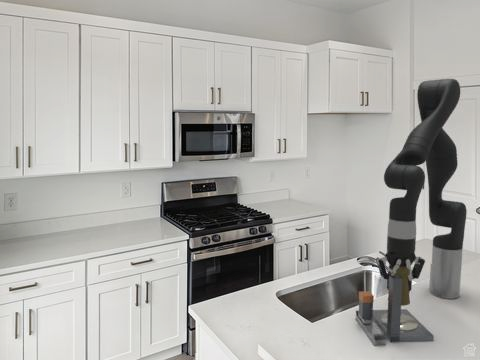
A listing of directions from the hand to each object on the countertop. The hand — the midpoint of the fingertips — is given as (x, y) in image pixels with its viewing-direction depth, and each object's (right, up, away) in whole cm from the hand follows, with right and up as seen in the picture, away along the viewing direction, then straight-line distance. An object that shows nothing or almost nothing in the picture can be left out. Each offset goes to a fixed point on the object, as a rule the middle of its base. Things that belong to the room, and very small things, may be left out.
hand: (398, 291), depth 112 cm
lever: (-9, -9, +2) cm, 13 cm away
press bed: (+1, -11, +1) cm, 11 cm away
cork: (0, -3, 0) cm, 3 cm away
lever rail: (-9, -11, -1) cm, 14 cm away
